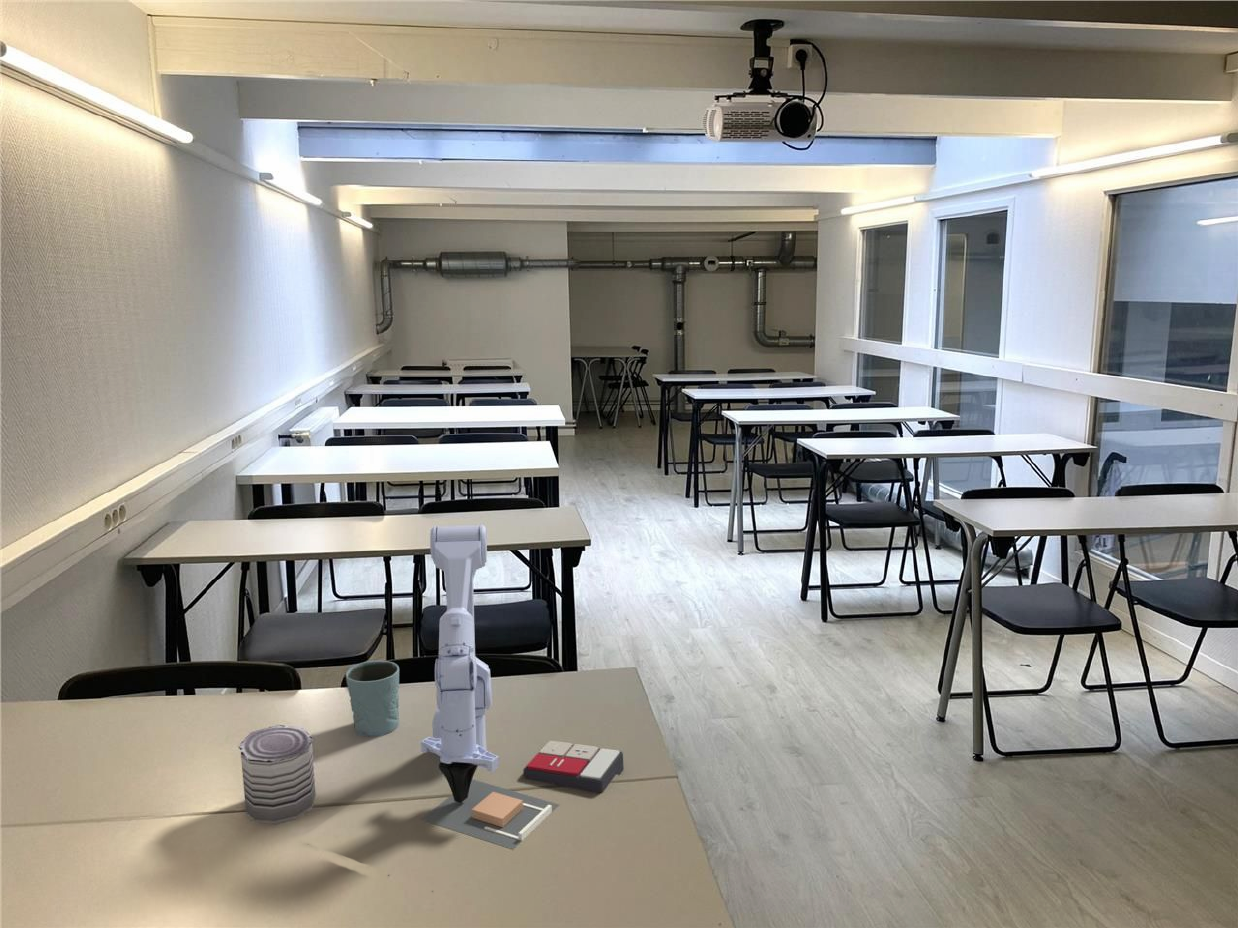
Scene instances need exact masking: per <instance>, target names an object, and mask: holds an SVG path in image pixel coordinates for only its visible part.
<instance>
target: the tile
mask: <svg viewBox="0 0 1238 928" xmlns="http://www.w3.org/2000/svg"><path fill="white" fill-rule="evenodd" d="M522 809H523V800H520V799H516V798H513V797H509V796H506V795H503V794H499V793H496V792H492V793H491V794H490V795H488V796H487V797H486V798H485V799H484V800H482V801H481V802H480V803H479V804H478V805H476V806H475V807H474V808H473V809H472V818H475V819H478V820H481V821H484V822H487V823H490V824H494V825H497V826H500V827H504V826H505V825H506V824H507V823H508V822H509V821H510V820H511V819H512V818H514V817H515V816H516V815H517V814H518V813H519V812H520V811H521V810H522Z"/></svg>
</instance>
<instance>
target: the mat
mask: <svg viewBox="0 0 1238 928" xmlns="http://www.w3.org/2000/svg"><path fill="white" fill-rule="evenodd" d="M492 792H496V793H499V794H503V795H506V796H509V797H513V798H516V799H520V800H523V809H522V810H521V811H520V812H519V813H518V814H517V815H516V816H515V817H514V818H512V819H511V820H510V821H509V822H508V823H507V824H506V825H505V826H504V827H500V826H497V825H494V824H490V823H487V822H484V821H481V820H478V819H475V818H472V809H473V808H474V807H475V806H476V805H478V804H479V803H480V802H481V801H482V800H484V799H485V798H486V797H487V796H488V795H490V794H491V793H492ZM559 806H560V804H558V803H555V802H552V801H549V800H545V799H542V798H538V797H534V796H531V795H528V794H524V793H521V792H518V791H514V790H511V789H507V788H503V787H500V786H496V785H493V784H491V783H486V782H484V781H480V780H476V779H473V778H472V781H471V784H470V788H469V793H468V798H466V799H465V800H464V801H463V802H461V803H460V802H456V801H455V800H454V797H453V794H452V793H451V795H449V797H447V798H446V799H444V801H442V802H441V803H439V805H437V806H436V807H434V808H433V809H432V810H431V811H429V812H428V813H427V814H425V815H424V816H423V817H422V818H421V819H420V821H424V822H427V823H430V824H433V825H436V826H439V827H441V828H445V829H448V830H452V831H453V832H454V831H455V832H457V833H461V834H464V835H467V836H469V837H473V838H475V839H479V840H482V841H485V842H488V843H492V844H494V845H498V846H501V847H503V848H507V849H509V850H515V848H517V847H518V845H520V843H522V842H523V841H524V840H525V839H526V838H527V837H529V835H530V834H531V833H532V832H534V830H535V829H537V828H538V826H539V825H540V824H542V823H543V822H544V820H546V819H547V818H548V817H549V816H550V815H552V813H553V812H554V811H555V810H556V809H557V808H558V807H559Z"/></svg>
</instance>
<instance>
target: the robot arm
mask: <svg viewBox="0 0 1238 928" xmlns="http://www.w3.org/2000/svg"><path fill="white" fill-rule="evenodd" d="M487 540H488V537H487V527H486V526H485V525H484V524H479V525H454V526H452V525H450V526H449V525H448V526H444V525H443V526H438V525H434V526H433V527H432V528H431V529H430V534H429V546H430V547H429V548H430V549H429V550H430V551H429V552H430V556H431V557H430V558H431V560H432V562H433V564H434V565H435V568H436V569H439V570H441V571H443V572H444V585H445V598H446V599H445V600H446V611H445V612H444V613H443V615H441V617H439V618H440V619H439V625H438V626H439V632H438V633H439V634H438V635H439V636H438V658H436V659H435V664H434V684H435V687H436V706H437V710H436V711H435V713H434V716H433V719H432V725H431V726H432V737H430V736H427V737H425V738H424V739H423V740H421V741H420V747H421V753H425V754H428V753H432V754H436V755H437V756H439V757H440V758H439V760H440V762H439V763H438V769H439V771H440V772H441V773H442V775H444V778H445V780H446V781H447V783H448V785H449V788H450V792H451V795H452V794H453V797H454V800H455V801H456V802H460V803H461V802H463V801H464V800H465V799H466V798H468V793H469V788H470V784H471V781H472V779H473V777H474V775H475V772H476V770H477V769H478V767H483V768H485V769H486V770H487V772H491V773H492V772H494V771H495V770H497V769H498V768H499V767H500V761H499V758H500V757H499V755H496V754H493V753H492V752H490V751H488V750H487V735H486V734H487V733H486V710H489V709H490V707H492V677H491V668H489V665H488V664H486V663H485V662H484V661H482V660H480V659H479V658H478V657H477V656H476V643H475V642H476V641H475V604H474V603H475V602H474V600H475V598H474V596H475V595H474V579H475V576H476V572H477V570H479V569H482V568H484V567H486V563H487V555H488V552H487V551H488V547H487V545H488V542H487Z"/></svg>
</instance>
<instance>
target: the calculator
mask: <svg viewBox="0 0 1238 928" xmlns="http://www.w3.org/2000/svg"><path fill="white" fill-rule="evenodd" d="M624 769H625V768H624V752H623V751H619V750H618V749H617V750H616V749H610V748H599V747H598V746H593V745H587V744H585V745H584V744H580V743H575V744H573V743H572V742H565V741H555V740H549V741H548V742H547V743H546V744H545V745H544V746H543V748H541V750H539V751H538V753H536V755H535V756H534V757H533V758H532V759H531V760H530V761H529V762H528V763H527V764H526V766H525V767H524V768H523V778H524V779H526V780H532V781H537V782H540V783H545V784H552V785H556V786H561V787H566V788H570V789H571V788H572V789H575V790H576V789H577V790H581V791H586V792H591V793H595V794H603V793H604V792H605V791H606V789H607V788H608V786H609V785H610V784H611V782H612V781H613V780H614V778H615V777H616V775H617V776H620V775H621V774H622V773H623V771H624Z"/></svg>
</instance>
